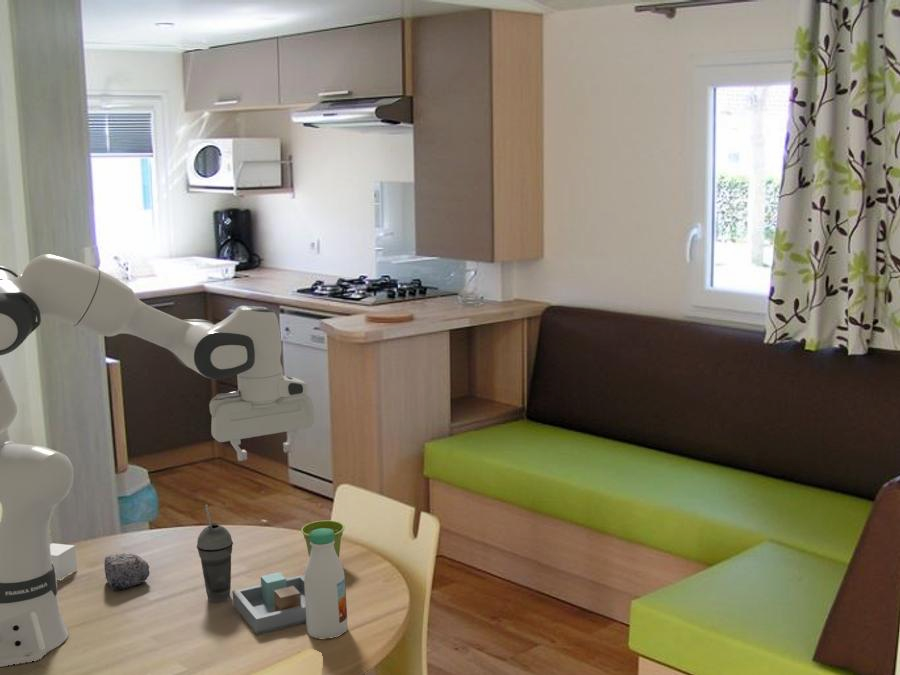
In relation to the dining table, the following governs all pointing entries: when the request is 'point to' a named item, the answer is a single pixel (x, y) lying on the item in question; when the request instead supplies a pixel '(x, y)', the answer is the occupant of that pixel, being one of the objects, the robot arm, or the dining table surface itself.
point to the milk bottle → (324, 587)
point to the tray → (269, 608)
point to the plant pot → (328, 524)
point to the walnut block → (286, 598)
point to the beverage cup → (216, 560)
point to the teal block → (271, 586)
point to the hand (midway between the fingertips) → (265, 455)
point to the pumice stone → (125, 570)
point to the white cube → (63, 559)
